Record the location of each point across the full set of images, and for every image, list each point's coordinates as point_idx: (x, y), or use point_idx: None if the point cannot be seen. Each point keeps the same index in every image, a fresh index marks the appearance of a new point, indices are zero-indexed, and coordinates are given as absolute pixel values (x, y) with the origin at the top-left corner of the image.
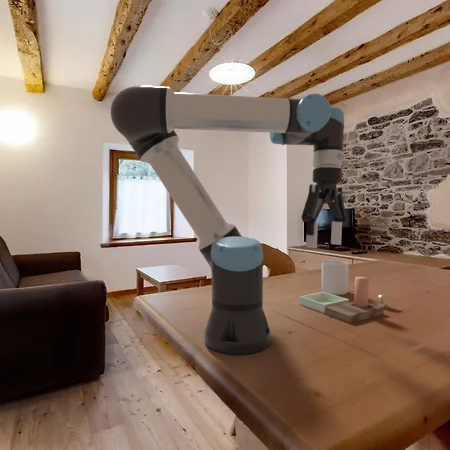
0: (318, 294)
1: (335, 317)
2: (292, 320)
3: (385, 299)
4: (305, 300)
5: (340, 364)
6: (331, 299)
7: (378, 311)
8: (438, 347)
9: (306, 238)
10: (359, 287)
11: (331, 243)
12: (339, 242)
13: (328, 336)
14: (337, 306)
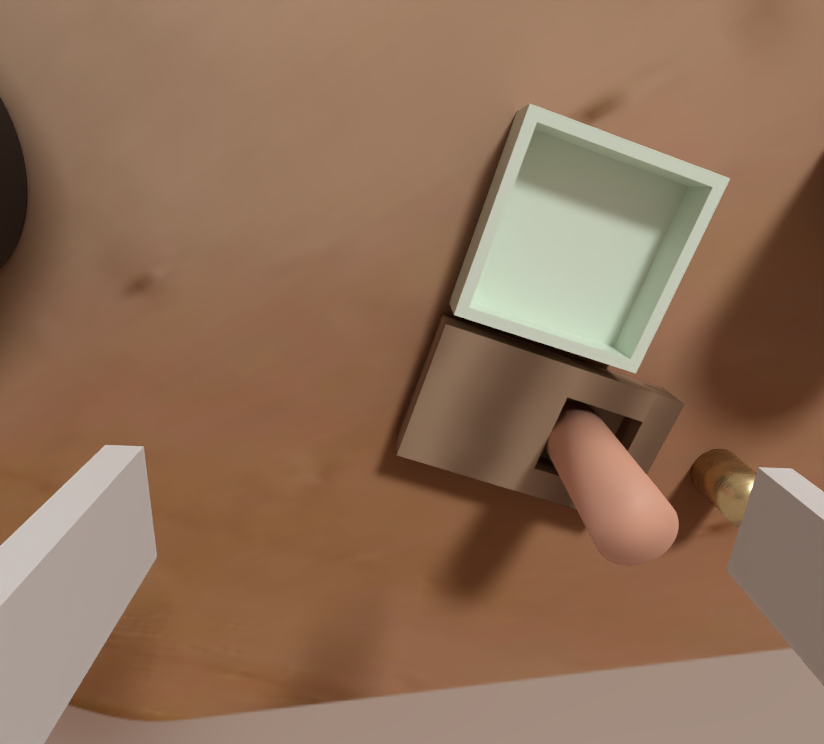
0: (669, 173)
1: (422, 372)
2: (272, 215)
3: (721, 512)
4: (505, 164)
5: None
6: (665, 254)
7: None
8: (394, 681)
9: (38, 514)
10: (577, 501)
11: (762, 475)
12: (744, 585)
13: (224, 422)
14: (501, 360)
